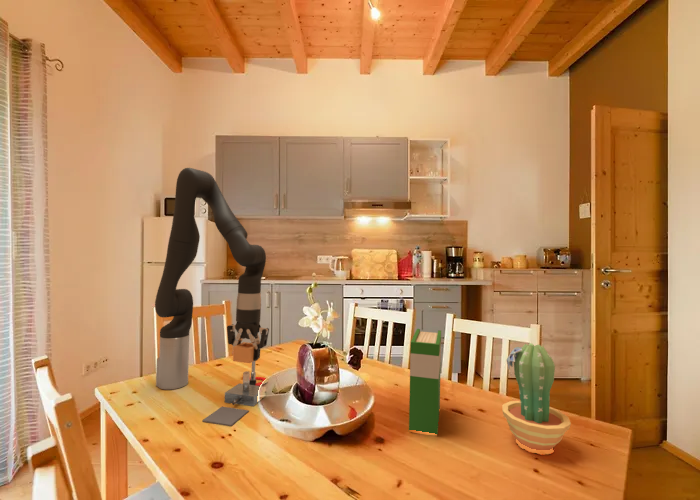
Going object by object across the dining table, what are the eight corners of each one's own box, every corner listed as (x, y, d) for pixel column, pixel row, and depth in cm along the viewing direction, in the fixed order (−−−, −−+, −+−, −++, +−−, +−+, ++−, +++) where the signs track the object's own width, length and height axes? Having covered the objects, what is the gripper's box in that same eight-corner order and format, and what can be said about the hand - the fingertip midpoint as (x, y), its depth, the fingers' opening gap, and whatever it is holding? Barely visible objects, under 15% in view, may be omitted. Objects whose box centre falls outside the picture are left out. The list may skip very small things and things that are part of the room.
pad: (202, 421, 95) (202, 420, 95) (222, 407, 104) (222, 406, 104) (231, 426, 93) (231, 424, 93) (248, 411, 101) (248, 410, 101)
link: (232, 361, 108) (233, 346, 108) (243, 355, 114) (243, 342, 114) (250, 363, 107) (250, 348, 107) (259, 357, 113) (260, 343, 113)
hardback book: (415, 404, 109) (417, 328, 109) (439, 408, 107) (441, 330, 107) (408, 432, 92) (410, 341, 92) (437, 437, 90) (439, 344, 90)
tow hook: (246, 379, 128) (239, 388, 119) (248, 344, 129) (241, 350, 120) (269, 380, 128) (264, 388, 119) (271, 344, 129) (265, 350, 120)
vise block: (218, 406, 105) (219, 378, 105) (238, 392, 115) (239, 366, 115) (248, 410, 102) (249, 381, 102) (266, 396, 113) (266, 370, 113)
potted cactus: (530, 425, 97) (532, 336, 97) (585, 456, 82) (587, 351, 83) (487, 435, 91) (489, 340, 92) (538, 469, 77) (540, 357, 77)
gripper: (221, 306, 109) (219, 360, 109) (263, 310, 105) (261, 365, 105) (235, 303, 116) (233, 353, 116) (274, 306, 112) (272, 358, 112)
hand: (246, 358), depth 110 cm, fingers closed on link, 6 cm apart
